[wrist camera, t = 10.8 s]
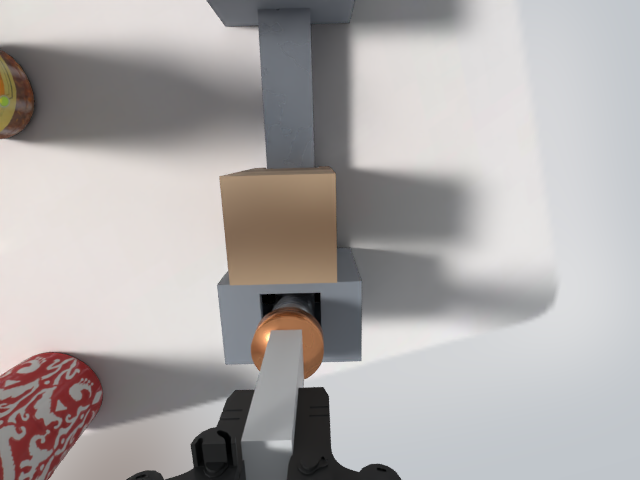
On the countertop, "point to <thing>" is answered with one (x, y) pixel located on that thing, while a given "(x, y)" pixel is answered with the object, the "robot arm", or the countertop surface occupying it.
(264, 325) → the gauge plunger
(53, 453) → the mug
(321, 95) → the countertop surface
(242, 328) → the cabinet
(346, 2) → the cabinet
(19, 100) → the sauce bottle
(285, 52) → the rail
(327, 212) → the carriage
